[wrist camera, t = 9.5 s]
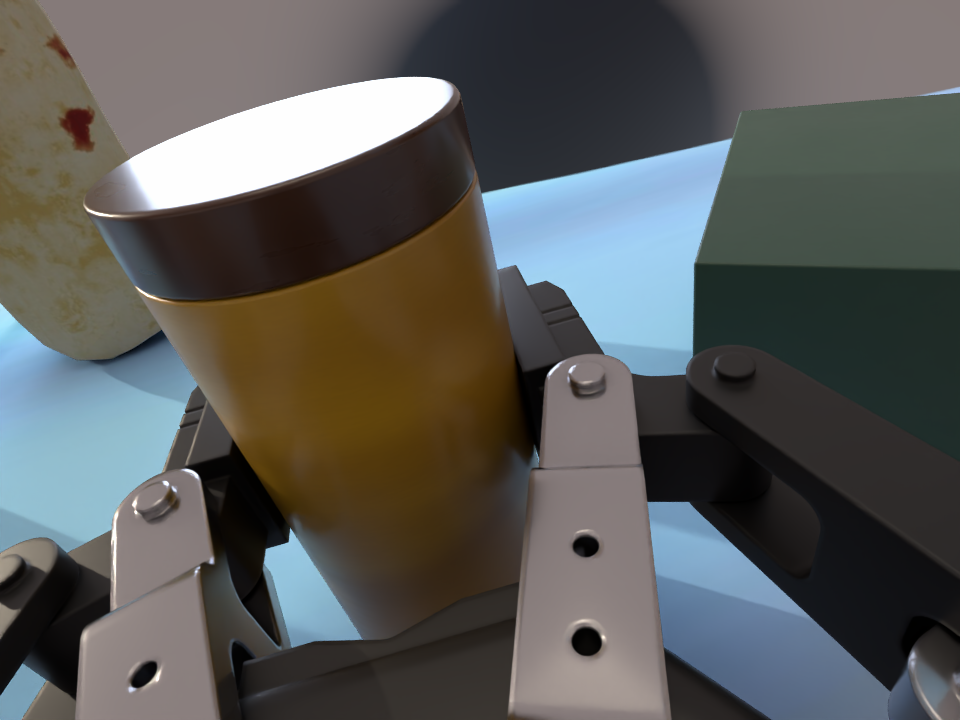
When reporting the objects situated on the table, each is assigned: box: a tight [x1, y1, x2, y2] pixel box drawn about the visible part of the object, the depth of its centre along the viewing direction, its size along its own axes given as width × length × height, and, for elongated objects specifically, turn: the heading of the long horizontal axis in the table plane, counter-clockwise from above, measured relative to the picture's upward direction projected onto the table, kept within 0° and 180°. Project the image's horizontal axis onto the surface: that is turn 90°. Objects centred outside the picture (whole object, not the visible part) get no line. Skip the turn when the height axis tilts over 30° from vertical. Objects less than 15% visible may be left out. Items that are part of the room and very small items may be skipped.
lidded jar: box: [83, 77, 539, 640], centre depth 10 cm, size 5×5×11 cm
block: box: [693, 93, 960, 462], centre depth 15 cm, size 10×10×6 cm
